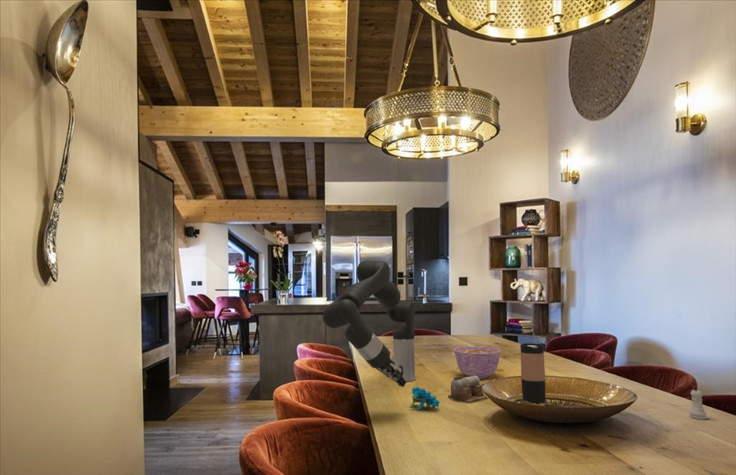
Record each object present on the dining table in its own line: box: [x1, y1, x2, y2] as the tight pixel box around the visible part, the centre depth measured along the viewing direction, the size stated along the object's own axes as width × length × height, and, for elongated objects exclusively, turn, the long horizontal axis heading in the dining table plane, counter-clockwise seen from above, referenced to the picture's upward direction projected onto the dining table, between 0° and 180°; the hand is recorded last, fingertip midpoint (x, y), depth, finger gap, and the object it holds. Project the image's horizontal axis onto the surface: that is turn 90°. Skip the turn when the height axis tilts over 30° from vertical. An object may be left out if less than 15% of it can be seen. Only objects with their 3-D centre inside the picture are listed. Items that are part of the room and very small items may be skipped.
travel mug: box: [520, 342, 546, 404], centre depth 160 cm, size 8×8×20 cm
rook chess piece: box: [688, 389, 708, 421], centre depth 143 cm, size 4×4×8 cm
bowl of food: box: [453, 346, 501, 380], centre depth 205 cm, size 20×20×12 cm
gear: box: [409, 386, 441, 411], centre depth 156 cm, size 11×6×10 cm
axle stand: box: [447, 375, 489, 404], centre depth 169 cm, size 12×10×8 cm
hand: (403, 384), depth 152 cm, fingers closed
